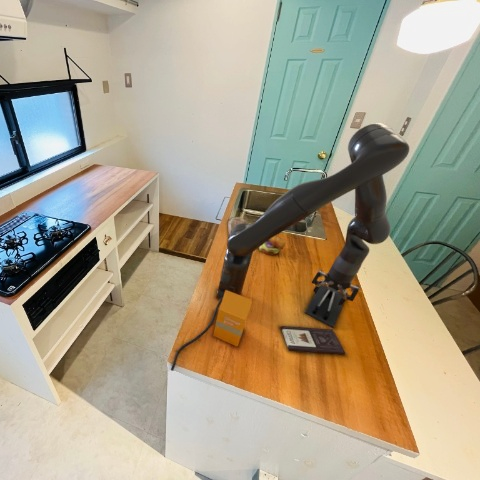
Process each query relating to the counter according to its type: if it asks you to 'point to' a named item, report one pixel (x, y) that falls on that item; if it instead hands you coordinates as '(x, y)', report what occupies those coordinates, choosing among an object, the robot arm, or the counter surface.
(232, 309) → the orange juice
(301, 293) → the counter surface
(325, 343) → the chocolate bar
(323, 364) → the counter surface
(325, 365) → the counter surface
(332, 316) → the mat
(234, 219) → the fish fossil
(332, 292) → the tongs
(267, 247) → the cheeseburger
